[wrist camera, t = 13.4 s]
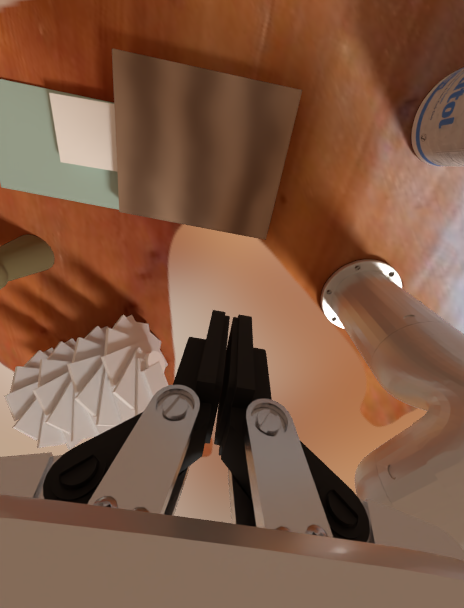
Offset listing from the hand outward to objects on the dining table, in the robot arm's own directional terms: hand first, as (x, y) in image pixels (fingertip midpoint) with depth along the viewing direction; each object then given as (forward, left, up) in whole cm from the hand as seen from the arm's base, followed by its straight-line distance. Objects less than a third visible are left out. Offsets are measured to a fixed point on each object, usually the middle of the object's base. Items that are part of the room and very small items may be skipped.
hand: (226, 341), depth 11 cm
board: (+6, -7, -29) cm, 31 cm away
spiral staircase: (+19, +29, -29) cm, 45 cm away
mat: (+26, -5, -29) cm, 39 cm away
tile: (+20, -7, -29) cm, 36 cm away
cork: (+32, +11, -29) cm, 45 cm away
